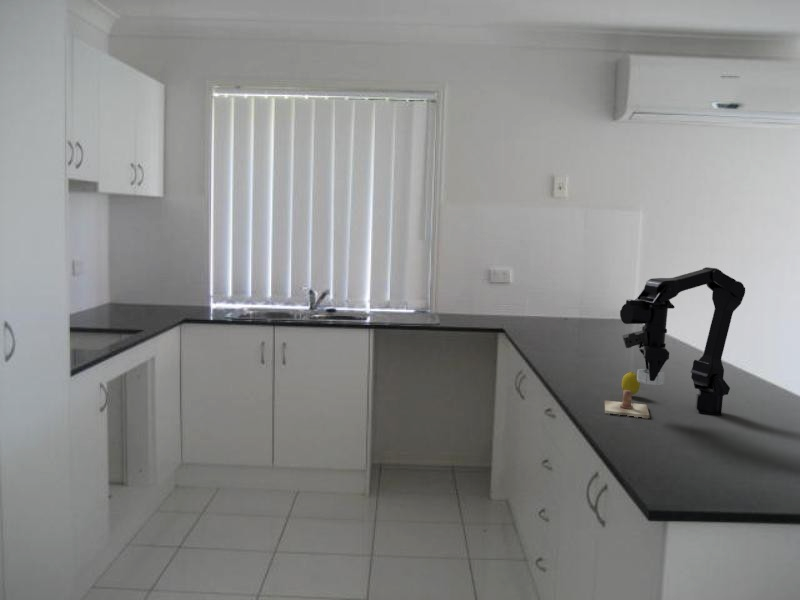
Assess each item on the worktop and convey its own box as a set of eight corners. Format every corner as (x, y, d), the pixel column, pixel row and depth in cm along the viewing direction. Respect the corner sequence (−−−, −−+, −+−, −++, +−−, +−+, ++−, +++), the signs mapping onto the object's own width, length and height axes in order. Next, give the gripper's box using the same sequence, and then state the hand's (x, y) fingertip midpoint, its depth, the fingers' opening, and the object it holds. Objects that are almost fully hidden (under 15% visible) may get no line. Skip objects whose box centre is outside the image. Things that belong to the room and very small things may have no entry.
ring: (661, 380, 208) (662, 370, 207) (664, 385, 201) (665, 375, 200) (635, 377, 209) (636, 367, 209) (638, 383, 202) (639, 372, 202)
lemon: (627, 398, 226) (629, 373, 225) (617, 394, 231) (619, 369, 230) (642, 398, 227) (644, 373, 226) (632, 393, 232) (634, 369, 231)
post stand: (646, 407, 216) (647, 388, 215) (649, 418, 204) (651, 398, 203) (604, 403, 218) (606, 384, 218) (605, 413, 207) (606, 393, 206)
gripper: (622, 317, 214) (618, 368, 216) (628, 326, 196) (623, 382, 197) (662, 320, 211) (657, 372, 213) (672, 329, 193) (666, 386, 195)
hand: (650, 378), depth 205 cm, fingers closed on ring, 7 cm apart
